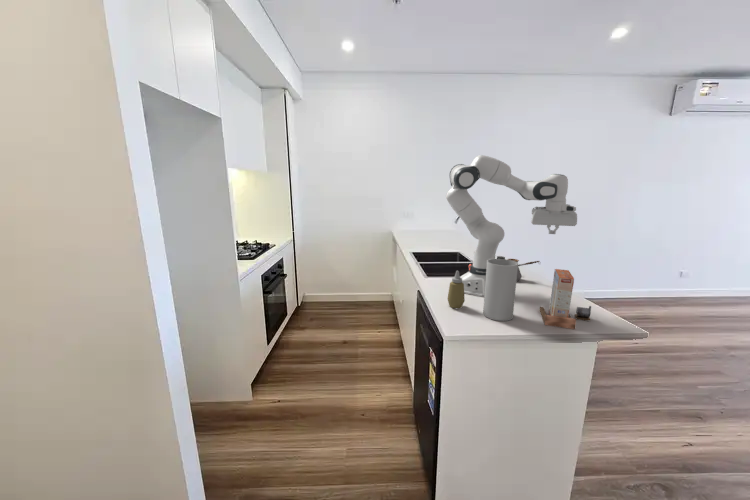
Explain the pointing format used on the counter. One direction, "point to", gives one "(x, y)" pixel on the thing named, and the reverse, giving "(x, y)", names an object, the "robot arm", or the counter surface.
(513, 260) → the coffee pot
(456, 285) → the squeeze bottle
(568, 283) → the cracker box
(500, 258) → the supplement bottle
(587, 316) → the winch drum
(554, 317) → the bay
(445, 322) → the counter surface
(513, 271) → the cylinder vase
